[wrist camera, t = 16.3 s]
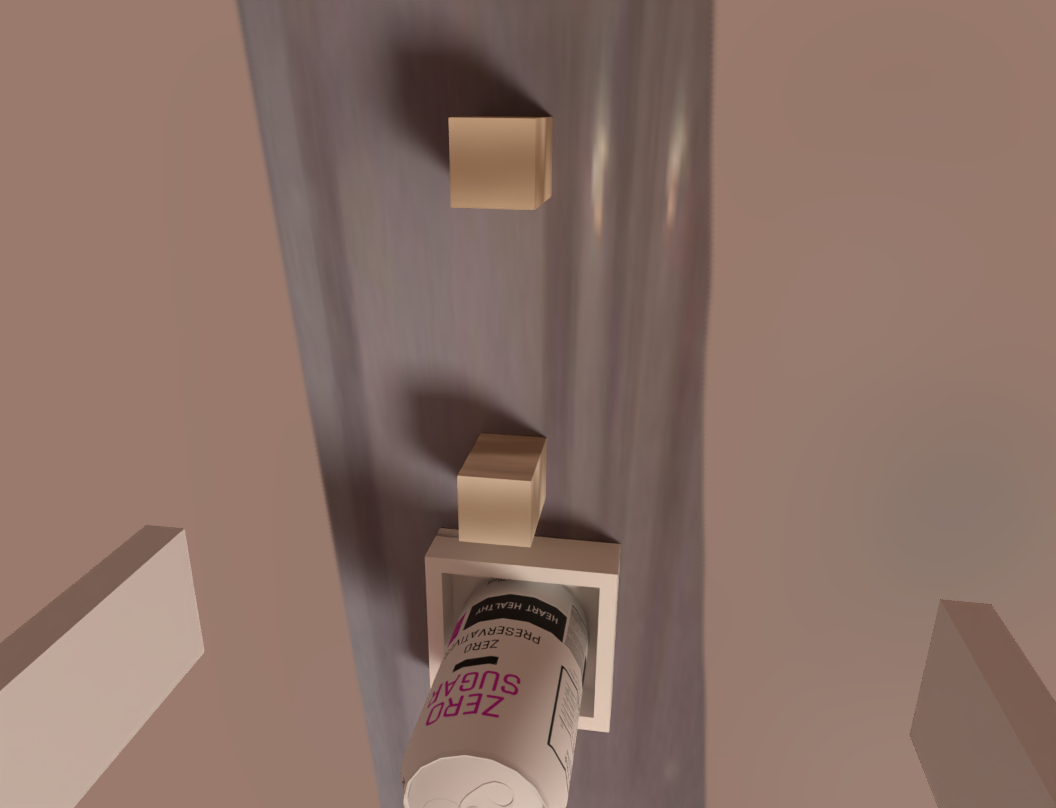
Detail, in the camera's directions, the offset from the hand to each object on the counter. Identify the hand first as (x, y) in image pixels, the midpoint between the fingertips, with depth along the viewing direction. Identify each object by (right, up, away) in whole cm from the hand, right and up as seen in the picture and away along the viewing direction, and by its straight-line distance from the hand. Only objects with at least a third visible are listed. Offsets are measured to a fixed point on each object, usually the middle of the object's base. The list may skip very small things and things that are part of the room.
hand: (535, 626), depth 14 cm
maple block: (-1, +17, +28) cm, 33 cm away
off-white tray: (0, -10, +38) cm, 39 cm away
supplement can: (0, -10, +37) cm, 38 cm away
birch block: (-1, 0, +34) cm, 34 cm away
